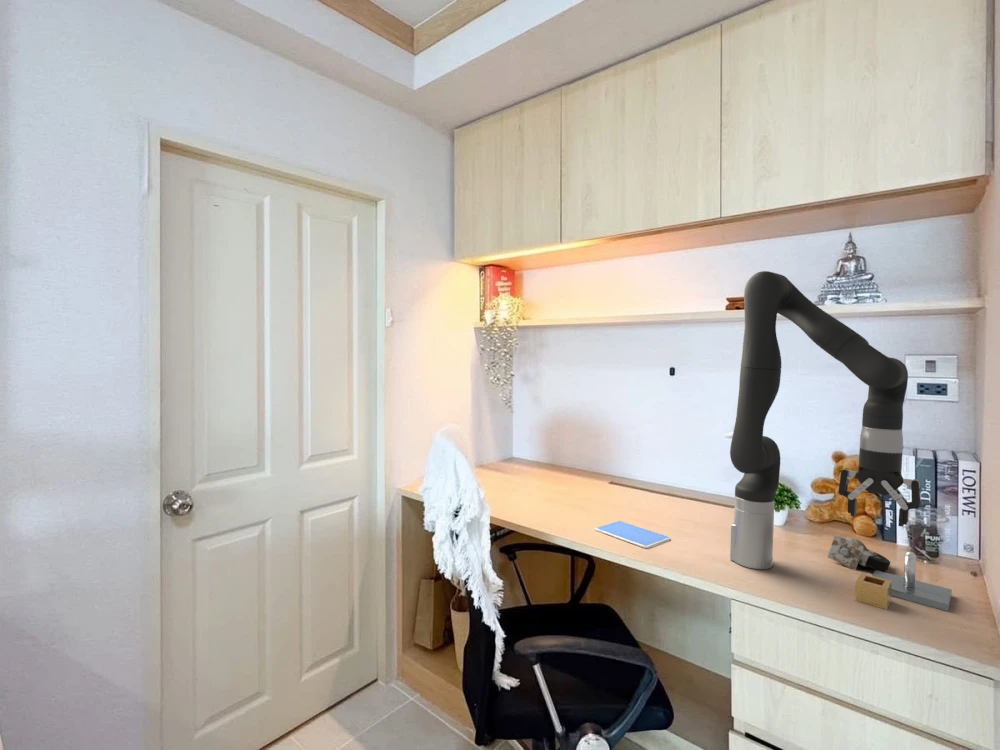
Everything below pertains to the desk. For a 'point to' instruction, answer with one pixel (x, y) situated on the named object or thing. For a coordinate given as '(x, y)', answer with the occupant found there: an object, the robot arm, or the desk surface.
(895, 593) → the post block
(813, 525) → the desk surface
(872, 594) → the tan slotted block
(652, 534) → the tablet computer
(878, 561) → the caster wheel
